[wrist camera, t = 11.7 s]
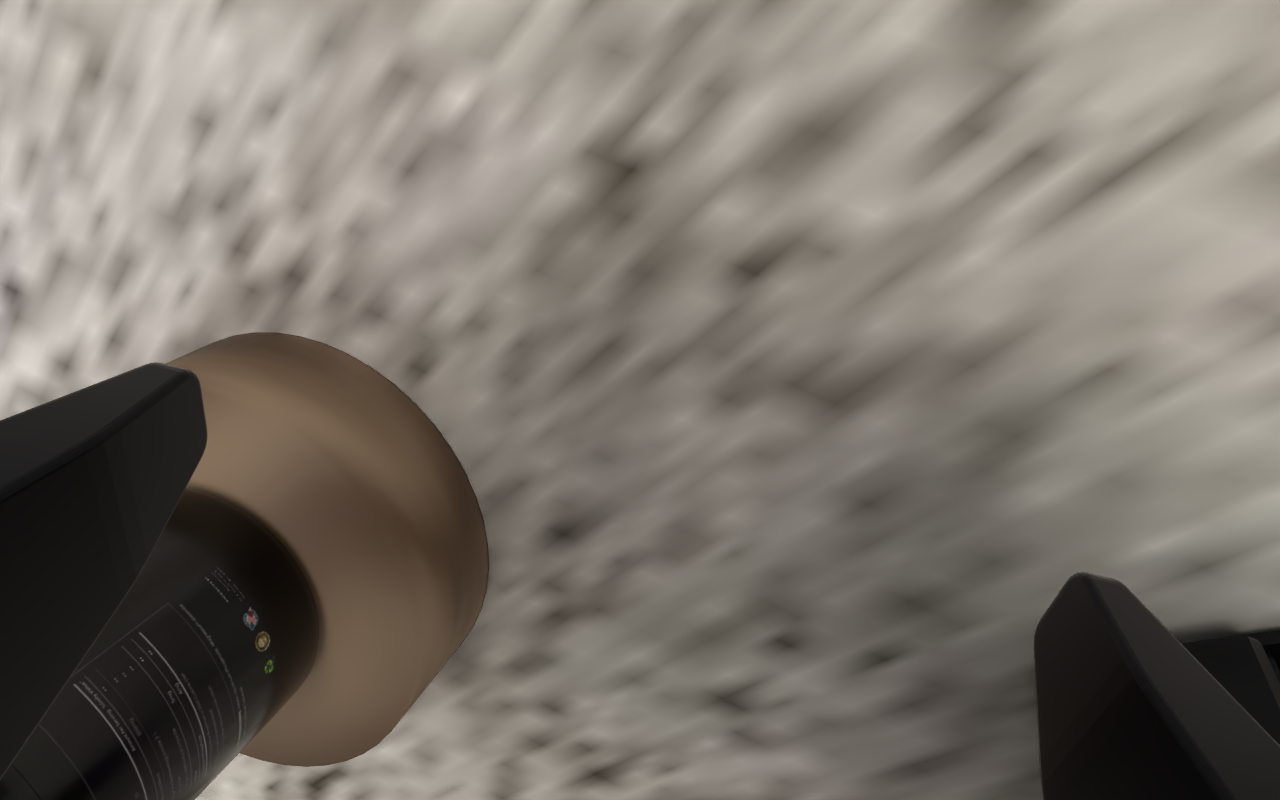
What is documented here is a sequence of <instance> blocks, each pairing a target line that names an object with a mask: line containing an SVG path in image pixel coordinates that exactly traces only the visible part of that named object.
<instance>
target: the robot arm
mask: <svg viewBox="0 0 1280 800" xmlns="http://www.w3.org/2000/svg"><path fill="white" fill-rule="evenodd" d="M207 435H208V434H207V425H206V418H205V411H204V404H203V398H202V391H201V385H200V381H199V378H198V376H197V375H196V374H195V373H194V372H193V371H191V370H189V369H185V368H181V367H176V366H172V365H167V364H163V363H150V364H146V365H143V366H141V367H138V368H136V369H133V370H130V371H128V372H125V373H123V374H120V375H118V376H115V377H112V378H110V379H107V380H105V381H102V382H99V383H97V384H94V385H92V386H89V387H86V388H84V389H81V390H79V391H76V392H73V393H71V394H68V395H66V396H63V397H61V398H58V399H55V400H53V401H50V402H48V403H45V404H42V405H40V406H37V407H35V408H32V409H29V410H27V411H24V412H22V413H19V414H16V415H14V416H11V417H9V418H6V419H3V420H1V421H0V779H1V778H2V777H3V775H4V774H5V772H6V771H7V769H8V768H9V766H10V765H11V763H12V762H13V760H14V759H15V758H16V756H17V755H18V753H19V752H20V750H21V749H22V747H23V746H24V744H25V743H26V741H27V740H28V739H29V737H30V736H31V734H32V733H33V731H34V730H35V728H36V727H37V725H38V724H39V722H40V721H41V720H42V718H43V717H44V715H45V714H46V712H47V711H48V709H49V708H50V706H51V705H52V703H53V702H54V701H55V699H56V698H57V696H58V695H59V693H60V692H61V690H62V689H63V687H64V686H65V684H66V683H67V682H68V680H69V679H70V677H71V676H72V674H73V673H74V671H75V670H76V668H77V667H78V665H79V664H80V663H81V661H82V660H83V658H84V657H85V655H86V654H87V652H88V651H89V649H90V648H91V646H92V645H93V644H94V642H95V641H96V639H97V638H98V636H99V635H100V633H101V632H102V630H103V629H104V627H105V626H106V625H107V623H108V622H109V620H110V619H111V617H112V616H113V614H114V613H115V611H116V610H117V608H118V607H119V606H120V604H121V603H122V601H123V600H124V598H125V597H126V595H127V593H128V592H129V590H130V589H131V587H132V586H133V584H134V583H135V581H136V580H137V578H138V576H139V574H140V573H141V571H142V569H143V567H144V566H145V564H146V562H147V560H148V559H149V557H150V555H151V553H152V551H153V549H154V547H155V545H156V543H157V541H158V540H159V538H160V536H161V534H162V532H163V530H164V528H165V526H166V524H167V523H168V521H169V519H170V517H171V515H172V513H173V511H174V509H175V507H176V505H177V504H178V502H179V500H180V498H181V496H182V494H183V492H184V490H185V488H186V487H187V485H188V483H189V481H190V479H191V477H192V475H193V473H194V471H195V469H196V468H197V466H198V464H199V462H200V460H201V458H202V456H203V454H204V451H205V448H206V444H207ZM1034 659H1035V679H1036V699H1037V719H1038V738H1039V758H1040V772H1041V784H1042V791H1043V798H1044V800H1280V631H1277V632H1270V633H1262V634H1255V635H1248V636H1245V635H1241V636H1234V637H1226V638H1219V639H1212V640H1205V641H1197V642H1190V643H1183V644H1181V643H1180V642H1179V641H1178V640H1177V639H1176V638H1175V637H1174V636H1173V635H1172V634H1171V633H1170V632H1169V631H1168V629H1167V628H1166V627H1165V626H1164V625H1163V624H1162V623H1161V622H1160V621H1159V620H1158V619H1157V618H1156V617H1155V616H1154V615H1153V614H1152V613H1151V612H1150V611H1149V610H1148V609H1147V608H1146V607H1145V606H1144V605H1143V604H1142V603H1141V602H1140V601H1139V600H1138V598H1137V597H1136V596H1135V595H1134V594H1133V593H1132V592H1131V591H1130V590H1129V589H1128V588H1127V587H1126V586H1125V585H1124V584H1122V583H1121V582H1119V581H1117V580H1115V579H1112V578H1107V577H1103V576H1098V575H1094V574H1090V573H1084V572H1082V573H1076V574H1075V575H1073V576H1071V577H1070V578H1069V580H1068V581H1067V582H1066V584H1065V585H1064V586H1063V588H1062V589H1061V591H1060V592H1059V594H1058V595H1057V596H1056V598H1055V599H1054V601H1053V602H1052V604H1051V605H1050V607H1049V608H1048V609H1047V611H1046V612H1045V614H1044V615H1043V617H1042V618H1041V620H1040V622H1039V623H1038V626H1037V628H1036V632H1035V637H1034Z"/></svg>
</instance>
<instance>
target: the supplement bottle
mask: <svg viewBox="0 0 1280 800" xmlns="http://www.w3.org/2000/svg"><path fill="white" fill-rule="evenodd" d="M318 645H319V620H318V613H317V609H316V604H315V601H314V598H313V595H312V592H311V590H310V587H309V585H308V582H307V580H306V578H305V576H304V574H303V572H302V571H301V569H300V567H299V566H298V564H297V562H296V561H295V560H294V558H293V557H292V555H291V554H290V552H289V551H288V550H287V549H286V547H285V546H284V545H283V544H282V543H281V542H280V540H279V539H278V538H277V537H276V536H275V535H274V534H273V533H272V532H271V531H270V530H269V529H268V528H267V527H266V526H264V525H263V524H262V523H261V522H260V521H258V520H257V519H256V518H254V517H253V516H252V515H250V514H249V513H248V512H246V511H244V510H243V509H241V508H240V507H238V506H236V505H234V504H232V503H231V502H229V501H227V500H225V499H222V498H220V497H218V496H215V495H213V494H209V493H206V492H203V491H199V490H195V489H190V488H185V490H184V492H183V494H182V496H181V498H180V500H179V502H178V504H177V505H176V507H175V509H174V511H173V513H172V515H171V517H170V519H169V521H168V523H167V524H166V526H165V528H164V530H163V532H162V534H161V536H160V538H159V540H158V541H157V543H156V545H155V547H154V549H153V551H152V553H151V555H150V557H149V559H148V560H147V562H146V564H145V566H144V567H143V569H142V571H141V573H140V574H139V576H138V578H137V580H136V581H135V583H134V584H133V586H132V587H131V589H130V590H129V592H128V593H127V595H126V597H125V598H124V600H123V601H122V603H121V604H120V606H119V607H118V608H117V610H116V611H115V613H114V614H113V616H112V617H111V619H110V620H109V622H108V623H107V625H106V626H105V627H104V629H103V630H102V632H101V633H100V635H99V636H98V638H97V639H96V641H95V642H94V644H93V645H92V646H91V648H90V649H89V651H88V652H87V654H86V655H85V657H84V658H83V660H82V661H81V663H80V664H79V665H78V667H77V668H76V670H75V671H74V673H73V674H72V676H71V677H70V679H69V680H68V682H67V683H66V684H65V686H64V687H63V689H62V690H61V692H60V693H59V695H58V696H57V698H56V699H55V701H54V702H53V703H52V705H51V706H50V708H49V709H48V711H47V712H46V714H45V715H44V717H43V718H42V720H41V721H40V722H39V724H38V725H37V727H36V728H35V730H34V731H33V733H32V734H31V736H30V737H29V739H28V740H27V741H26V743H25V744H24V746H23V747H22V749H21V750H20V752H19V753H18V755H17V756H16V758H15V759H14V760H13V762H12V763H11V765H10V766H9V768H8V769H7V771H6V772H5V774H4V775H3V777H2V778H1V779H0V800H195V799H196V798H197V797H198V796H199V795H200V794H201V792H202V791H203V790H204V789H205V788H206V787H207V786H208V785H209V784H210V783H211V782H212V781H213V780H214V779H215V778H216V777H217V776H218V775H219V774H220V773H221V771H222V770H223V769H224V768H225V767H226V766H227V765H228V764H229V763H230V762H231V761H232V760H233V759H234V758H235V757H236V756H237V755H238V754H239V753H240V751H241V750H242V749H243V748H244V747H245V746H246V745H247V744H248V743H249V742H250V741H251V740H252V739H253V738H254V737H255V736H256V735H257V734H258V733H259V732H260V730H261V729H262V728H263V727H264V726H265V725H266V724H267V723H268V722H269V721H270V720H271V719H272V718H273V717H274V716H275V715H276V714H277V713H278V711H279V710H280V709H281V708H282V707H283V706H284V705H285V704H286V703H287V701H288V700H289V699H290V698H291V697H292V696H293V695H294V694H295V693H296V692H297V690H298V689H299V688H300V687H301V685H302V684H303V683H304V681H305V680H306V679H307V677H308V675H309V674H310V672H311V670H312V668H313V665H314V662H315V660H316V656H317V651H318Z"/></svg>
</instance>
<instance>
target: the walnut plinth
mask: <svg viewBox="0 0 1280 800" xmlns="http://www.w3.org/2000/svg"><path fill="white" fill-rule="evenodd" d="M167 365H172V366H176V367H181V368H185V369H189V370H191V371H193V372H194V373H195V374H196V375H197V376H198V378H199V381H200V385H201V391H202V398H203V404H204V411H205V418H206V425H207V434H208V435H207V444H206V448H205V451H204V454H203V456H202V458H201V460H200V462H199V464H198V466H197V468H196V469H195V471H194V473H193V475H192V477H191V479H190V481H189V483H188V485H187V487H186V488H190V489H195V490H199V491H203V492H206V493H209V494H213V495H215V496H218V497H220V498H222V499H225V500H227V501H229V502H231V503H232V504H234V505H236V506H238V507H240V508H241V509H243V510H244V511H246V512H248V513H249V514H250V515H252V516H253V517H254V518H256V519H257V520H258V521H260V522H261V523H262V524H263V525H264V526H266V527H267V528H268V529H269V530H270V531H271V532H272V533H273V534H274V535H275V536H276V537H277V538H278V539H279V540H280V542H281V543H282V544H283V545H284V546H285V547H286V549H287V550H288V551H289V552H290V554H291V555H292V557H293V558H294V560H295V561H296V562H297V564H298V566H299V567H300V569H301V571H302V572H303V574H304V576H305V578H306V580H307V582H308V585H309V587H310V590H311V592H312V595H313V598H314V601H315V604H316V609H317V613H318V620H319V645H318V651H317V656H316V660H315V662H314V665H313V668H312V670H311V672H310V674H309V675H308V677H307V679H306V680H305V681H304V683H303V684H302V685H301V687H300V688H299V689H298V690H297V692H296V693H295V694H294V695H293V696H292V697H291V698H290V699H289V700H288V701H287V703H286V704H285V705H284V706H283V707H282V708H281V709H280V710H279V711H278V713H277V714H276V715H275V716H274V717H273V718H272V719H271V720H270V721H269V722H268V723H267V724H266V725H265V726H264V727H263V728H262V729H261V730H260V732H259V733H258V734H257V735H256V736H255V737H254V738H253V739H252V740H251V741H250V742H249V743H248V744H247V745H246V746H245V747H244V748H243V749H242V750H241V751H240V753H241V754H244V755H247V756H250V757H253V758H257V759H260V760H263V761H268V762H273V763H278V764H283V765H292V766H305V767H307V766H324V765H330V764H335V763H339V762H344V761H347V760H349V759H352V758H354V757H357V756H359V755H362V754H364V753H365V752H367V751H368V750H370V749H371V748H373V747H374V746H376V745H377V744H379V743H380V742H381V741H382V740H383V739H384V738H385V737H386V736H387V735H388V734H389V733H390V732H391V731H392V730H393V728H394V727H395V726H396V725H397V723H398V722H399V721H400V720H401V718H402V717H403V716H404V715H405V713H406V712H407V711H408V710H409V708H410V707H411V706H412V705H413V703H414V702H415V701H416V700H417V698H418V697H419V696H420V695H421V693H422V692H423V691H424V690H425V688H426V687H427V686H428V685H429V683H430V682H431V681H432V680H433V678H434V677H435V676H436V675H437V673H438V672H439V671H440V670H441V668H442V667H443V666H444V665H445V663H446V662H447V661H448V660H449V658H450V657H451V656H452V655H453V653H454V652H455V651H456V650H457V648H458V647H459V646H460V645H461V643H462V642H463V641H464V639H465V638H466V636H467V635H468V633H469V632H470V631H471V629H472V628H473V626H474V624H475V622H476V620H477V617H478V615H479V613H480V611H481V608H482V604H483V601H484V597H485V593H486V589H487V578H488V568H489V567H488V547H487V540H486V534H485V529H484V524H483V519H482V516H481V513H480V510H479V506H478V503H477V500H476V497H475V494H474V492H473V490H472V488H471V485H470V483H469V481H468V479H467V476H466V474H465V472H464V470H463V468H462V467H461V465H460V463H459V462H458V460H457V458H456V456H455V455H454V453H453V451H452V449H451V448H450V446H449V445H448V444H447V442H446V441H445V439H444V438H443V437H442V435H441V434H440V433H439V431H438V430H437V428H436V427H435V426H434V424H433V423H432V422H431V421H430V420H429V419H428V418H427V417H426V416H425V414H424V413H423V412H422V411H421V410H420V409H419V408H418V407H417V406H416V404H415V403H414V402H412V401H411V400H410V399H409V398H408V397H407V396H406V395H405V394H404V393H403V392H401V391H400V390H399V389H398V388H397V387H396V386H395V385H394V384H392V383H391V382H390V381H388V380H387V379H386V378H384V377H383V376H382V375H380V374H379V373H377V372H376V371H375V370H373V369H372V368H371V367H369V366H367V365H365V364H364V363H362V362H360V361H359V360H357V359H355V358H353V357H352V356H350V355H348V354H346V353H344V352H342V351H339V350H337V349H335V348H332V347H330V346H328V345H326V344H323V343H320V342H316V341H313V340H310V339H306V338H303V337H299V336H293V335H287V334H280V333H249V334H242V335H236V336H231V337H228V338H226V339H223V340H220V341H217V342H214V343H212V344H210V345H207V346H205V347H203V348H200V349H198V350H196V351H194V352H191V353H189V354H187V355H185V356H182V357H180V358H178V359H176V360H173V361H171V362H169V363H167Z"/></svg>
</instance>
